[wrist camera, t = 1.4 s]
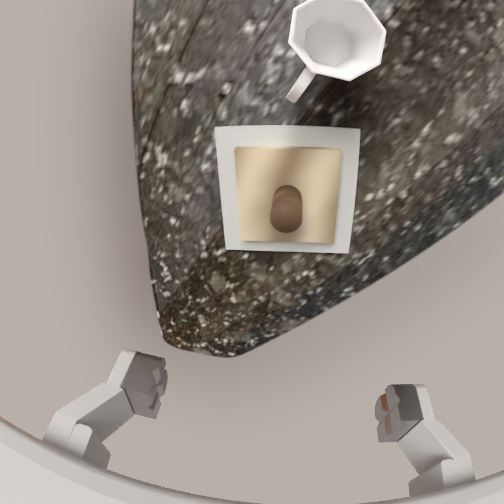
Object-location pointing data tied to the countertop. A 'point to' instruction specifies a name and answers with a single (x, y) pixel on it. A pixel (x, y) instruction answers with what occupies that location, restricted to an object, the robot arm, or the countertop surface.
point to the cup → (335, 40)
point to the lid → (287, 193)
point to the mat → (288, 137)
